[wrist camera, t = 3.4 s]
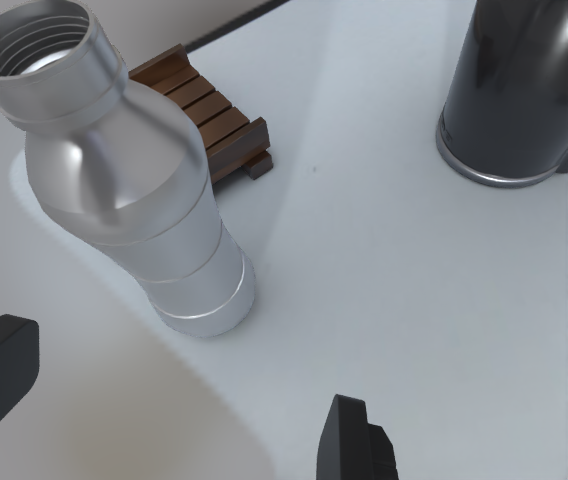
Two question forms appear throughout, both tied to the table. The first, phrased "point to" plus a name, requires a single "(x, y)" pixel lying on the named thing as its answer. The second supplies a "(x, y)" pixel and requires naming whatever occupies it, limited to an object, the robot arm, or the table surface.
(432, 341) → the table surface
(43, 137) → the silver metal bottle
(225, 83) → the table surface
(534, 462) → the table surface
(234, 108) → the wooden slatted rack
